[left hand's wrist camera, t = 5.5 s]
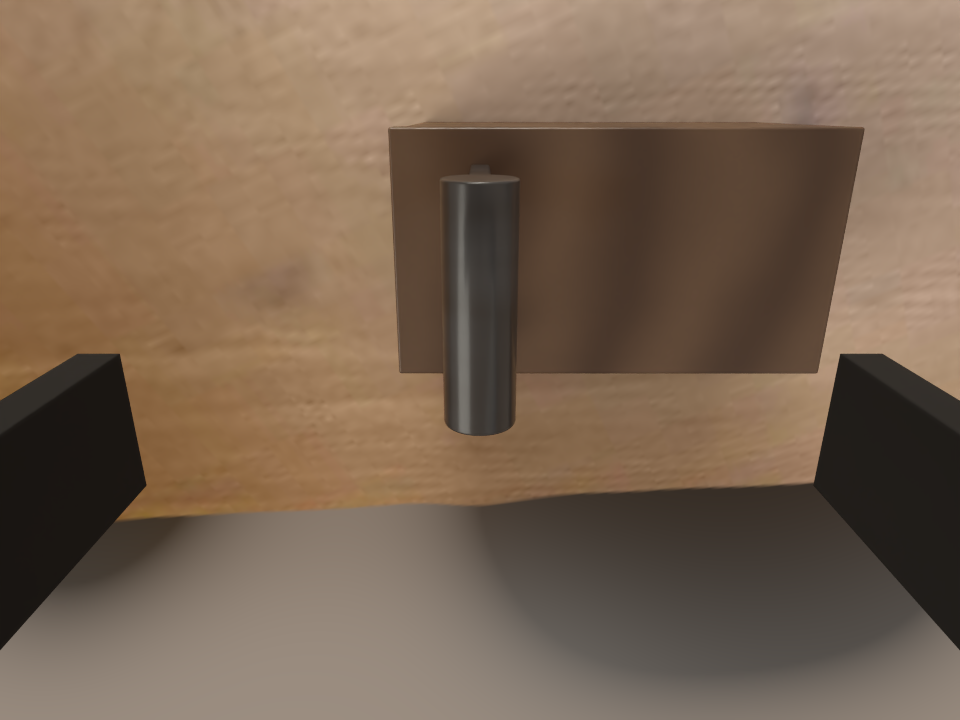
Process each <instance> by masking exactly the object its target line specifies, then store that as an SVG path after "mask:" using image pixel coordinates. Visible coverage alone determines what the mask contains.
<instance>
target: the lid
mask: <svg viewBox="0 0 960 720" xmlns="http://www.w3.org/2000/svg"><path fill="white" fill-rule="evenodd" d="M388 134H389V156H390V178H391V200H392V222H393V243H394V265H395V287H396V309H397V330H398V352H399V371H400V373H443V375H444V420H445V423H446V425H447V426H448V427H449V428H450V429H452V430H454V431H456V432H458V433H461V434H466V435H473V436H487V435H494V434H498V433H502V432H504V431H506V430H508V429H510V428H511V427H512V426H513V424H514V423H515V411H516V373H817V372H818V368H819V362H820V357H821V352H822V347H823V342H824V337H825V331H826V326H827V321H828V316H829V311H830V305H831V300H832V295H833V290H834V285H835V280H836V274H837V269H838V264H839V259H840V254H841V248H842V243H843V238H844V233H845V228H846V223H847V217H848V212H849V207H850V202H851V197H852V191H853V186H854V181H855V176H856V171H857V166H858V160H859V155H860V150H861V145H862V140H863V135H864V128H863V127H390V128H389V129H388Z"/></svg>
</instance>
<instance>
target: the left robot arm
mask: <svg viewBox="0 0 960 720" xmlns="http://www.w3.org/2000/svg"><path fill="white" fill-rule="evenodd" d="M145 487H146V481H145V476H144V471H143V466H142V461H141V456H140V451H139V446H138V441H137V436H136V432H135V427H134V422H133V417H132V412H131V407H130V402H129V397H128V392H127V387H126V382H125V378H124V373H123V368H122V363H121V358H120V354H77V355H75V356H73V357H72V358H70V359H68V360H67V361H65V362H63V363H62V364H60V365H58V366H57V367H55V368H53V369H52V370H50V371H49V372H47V373H45V374H44V375H42V376H40V377H39V378H37V379H35V380H34V381H32V382H30V383H29V384H27V385H25V386H24V387H22V388H20V389H19V390H17V391H16V392H14V393H12V394H11V395H9V396H7V397H6V398H4V399H2V400H1V401H0V650H1V649H2V648H3V646H4V645H5V644H6V643H7V642H8V641H9V640H10V639H11V637H12V636H13V635H14V634H15V633H16V632H17V631H18V630H19V628H20V627H21V626H22V625H23V624H24V623H25V622H26V620H27V619H28V618H29V617H30V616H31V615H32V614H33V613H34V611H35V610H36V609H37V608H38V607H39V606H40V605H41V604H42V602H43V601H44V600H45V599H46V598H47V597H48V596H49V595H50V593H51V592H52V591H53V590H54V589H55V588H56V587H57V586H58V584H59V583H60V582H61V581H62V580H63V579H64V578H65V576H66V575H67V574H68V573H69V572H70V571H71V570H72V569H73V568H74V566H75V565H76V564H77V563H78V562H79V561H80V560H81V559H82V557H83V556H84V555H85V554H86V553H87V552H88V551H89V550H90V548H91V547H92V546H93V545H94V544H95V543H96V542H97V541H98V539H99V538H100V537H101V536H102V535H103V534H104V533H105V532H106V530H107V529H108V528H109V527H110V526H111V525H112V524H113V523H114V521H115V520H116V519H117V518H118V517H119V516H120V515H121V514H122V512H123V511H124V510H125V509H126V508H127V507H128V506H129V505H130V503H131V502H132V501H133V500H134V499H135V498H136V497H137V496H138V494H139V493H140V492H141V491H142V490H143V489H144V488H145ZM814 487H815V488H816V489H817V490H818V491H819V492H820V493H821V494H822V496H823V497H824V498H825V499H826V500H827V501H828V502H829V503H830V505H831V506H832V507H833V508H834V509H835V510H836V511H837V512H838V514H839V515H840V516H841V517H842V518H843V519H844V520H845V521H846V523H847V524H848V525H849V526H850V527H851V528H852V529H853V530H854V532H855V533H856V534H857V535H858V536H859V537H860V538H861V539H862V541H863V542H864V543H865V544H866V545H867V546H868V547H869V548H870V550H871V551H872V552H873V553H874V554H875V555H876V556H877V557H878V559H879V560H880V561H881V562H882V563H883V564H884V565H885V566H886V568H887V569H888V570H889V571H890V572H891V573H892V574H893V575H894V577H895V578H896V579H897V580H898V581H899V582H900V583H901V584H902V586H903V587H904V588H905V589H906V590H907V591H908V592H909V593H910V595H911V596H912V597H913V598H914V599H915V600H916V601H917V602H918V604H919V605H920V606H921V607H922V608H923V609H924V610H925V611H926V613H927V614H928V615H929V616H930V617H931V618H932V619H933V621H934V622H935V623H936V624H937V625H938V626H939V627H940V628H941V629H942V631H943V632H944V633H945V634H946V635H947V636H948V637H949V639H950V640H951V641H952V642H953V643H954V644H955V645H956V646H957V648H958V649H959V650H960V401H959V400H958V399H956V398H954V397H953V396H951V395H949V394H948V393H946V392H944V391H943V390H941V389H940V388H938V387H936V386H935V385H933V384H931V383H930V382H928V381H926V380H925V379H923V378H921V377H920V376H918V375H916V374H915V373H913V372H911V371H910V370H908V369H907V368H905V367H903V366H902V365H900V364H898V363H897V362H895V361H893V360H892V359H890V358H888V357H887V356H885V355H883V354H840V358H839V363H838V368H837V373H836V378H835V382H834V387H833V392H832V397H831V402H830V407H829V412H828V417H827V422H826V427H825V432H824V436H823V441H822V446H821V451H820V456H819V461H818V466H817V471H816V476H815V481H814Z"/></svg>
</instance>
